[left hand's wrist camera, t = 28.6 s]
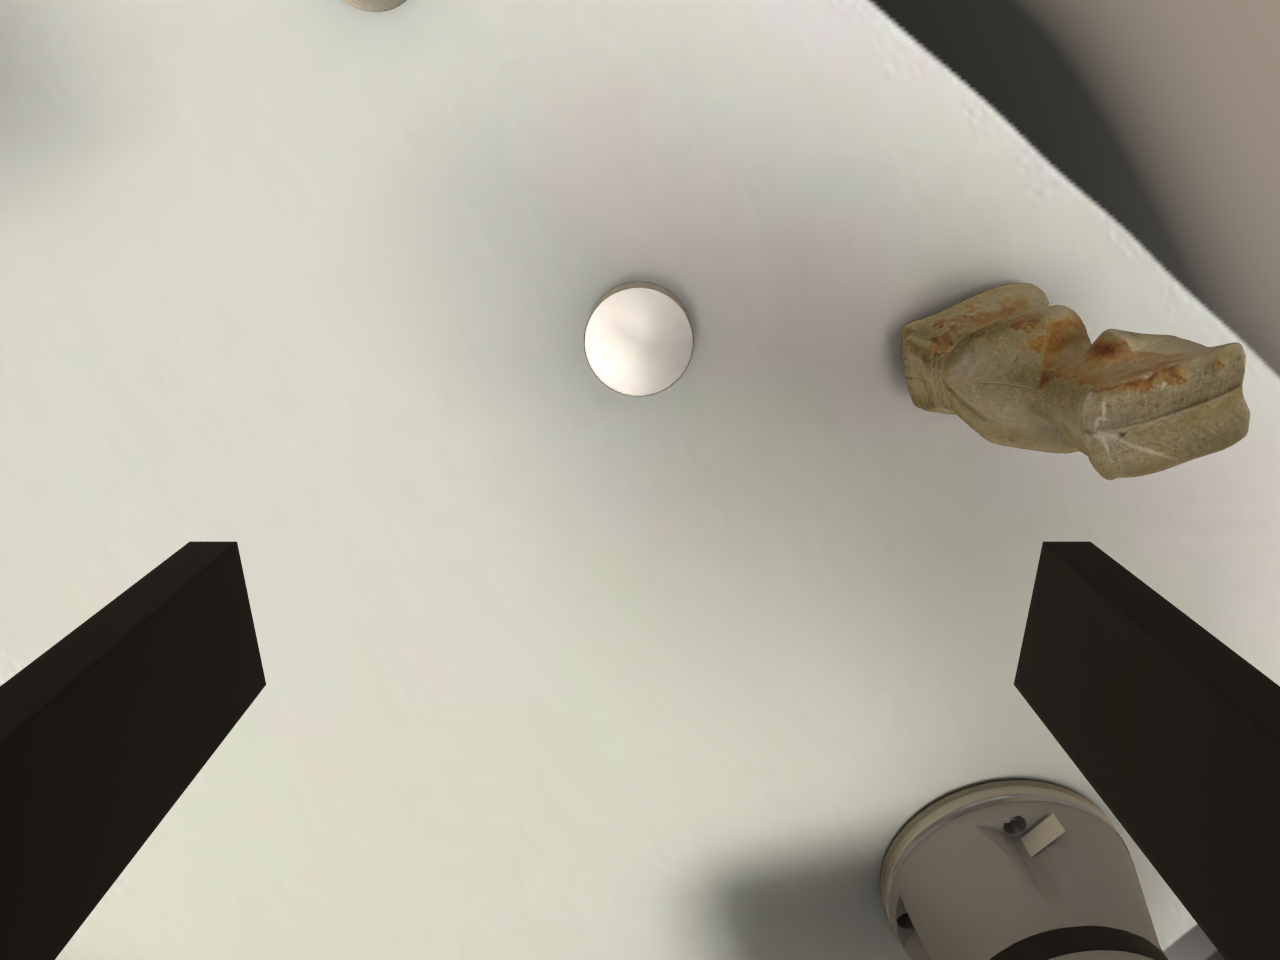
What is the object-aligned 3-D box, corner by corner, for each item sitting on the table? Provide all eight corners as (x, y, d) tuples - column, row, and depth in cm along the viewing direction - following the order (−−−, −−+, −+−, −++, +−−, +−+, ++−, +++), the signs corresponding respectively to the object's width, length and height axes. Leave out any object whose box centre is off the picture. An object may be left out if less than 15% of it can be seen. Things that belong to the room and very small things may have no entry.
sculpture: (1038, 378, 38) (1273, 486, 24) (894, 414, 38) (1041, 539, 24) (1028, 261, 36) (1279, 302, 22) (877, 301, 37) (1026, 366, 22)
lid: (575, 295, 37) (571, 302, 34) (677, 270, 36) (680, 274, 34) (602, 395, 38) (599, 407, 36) (700, 371, 38) (703, 382, 36)
